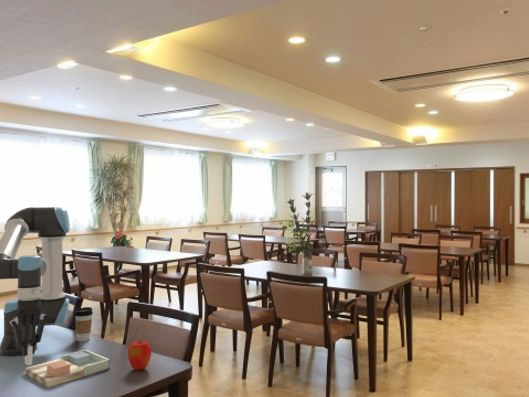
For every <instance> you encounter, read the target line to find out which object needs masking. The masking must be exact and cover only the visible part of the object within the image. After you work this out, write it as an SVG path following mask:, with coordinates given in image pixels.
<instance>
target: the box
mask: <svg viewBox="0 0 529 397" xmlns="http://www.w3.org/2000/svg"><path fill="white" fill-rule="evenodd" d="M80 352H84V353H87V354H89V355H90V362H88V363H85V364H81V365H78V367H80V368H82V369H84V376H83V377H85V376H86V377H87V376H89V375H92V374H95V373H99V372H102V371H105V370H108V368H109V369H110V368H111V359H109V358H108V357H105V356H102V355H100V354H97V353H96V352H93V351H91V350H89V349H82V350H79V351H75V352H71V353H68V354H64V355H61V356H60V359H63V360H65V361H67V362H69V355H72V354H76V353H80Z"/></svg>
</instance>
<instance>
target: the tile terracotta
mask: <svg viewBox="0 0 529 397" xmlns="http://www.w3.org/2000/svg"><path fill="white" fill-rule="evenodd" d="M69 372H70V364H68V363H66V362H64V361H60V362H56V363H53V364H49V365H47V373H48V374H50V375H52V376H54V377H56V376H59V375H63V374H66V373H69Z"/></svg>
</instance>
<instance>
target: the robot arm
mask: <svg viewBox="0 0 529 397" xmlns="http://www.w3.org/2000/svg"><path fill="white" fill-rule="evenodd" d="M70 225H71V224H70V219H69V213H68V210H67V209H66V208H64V207H58V206H57V207H56V206H54V207H53V206H52V207H51V206H50V207H41V206H40V207H38V206H36V207H34V206H33V207H26V208H22V209H20V210H19V211H16V212H15V213H14V214H13V215H11V216H10V217H9V218H8V219H7V220H6V222H5V224H4V227H3V228H4V232H3V234H2V236H1V239H0V280H12V279H13V280H16V279H17V295H16V296H17V298H14V299H11V300H9V301H7V302H6V303H5V304H4V307H3V336H2V340H1V342H0V355H2V356H5V357H8V356H9V357H11V356H15V357H16V356H21V355H22V356H23V357H24V364H25V365H27V366H32V365H33V355H34V354H35V353H36V350H37V349H38V343H41V341H42V338H43V333H44V328H45V326H46V327H47V326H54V327H56V326H59V325H64V324H65V323H66V321H67V319H68V318H67V317H68V313H69V308H70V299H69V297H68V298H67V297H66V293H65V292H63V241H64V239H65V238H66V236H67V234H68V233H70V231H71V230H70ZM28 234H37V237H38V239H40V241H41V256H40V255H36V254H32V255H30V254H29V255H21V256H20V257H18V258H16V256H17V253H18V251H19V249H20V246H21V244H22V242H23V239H24V238H25V237H26V236H27V235H28ZM36 327H37V328H36Z"/></svg>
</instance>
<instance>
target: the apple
mask: <svg viewBox="0 0 529 397" xmlns="http://www.w3.org/2000/svg"><path fill="white" fill-rule="evenodd" d="M127 356H128V362H129V364H130V367H131V368H132V369H134V370H135V371H137V370H140V371H143V370H142V369H144V370H145V369H146V368H147V367H148V366H149V363H150V360H151V356H152V348H151V345H150V344H149V343H148V342H147V341H145V340H143V341H141V340H137V341H133V342H132V343H131V344H130V345H129V347H128V349H127Z"/></svg>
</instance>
